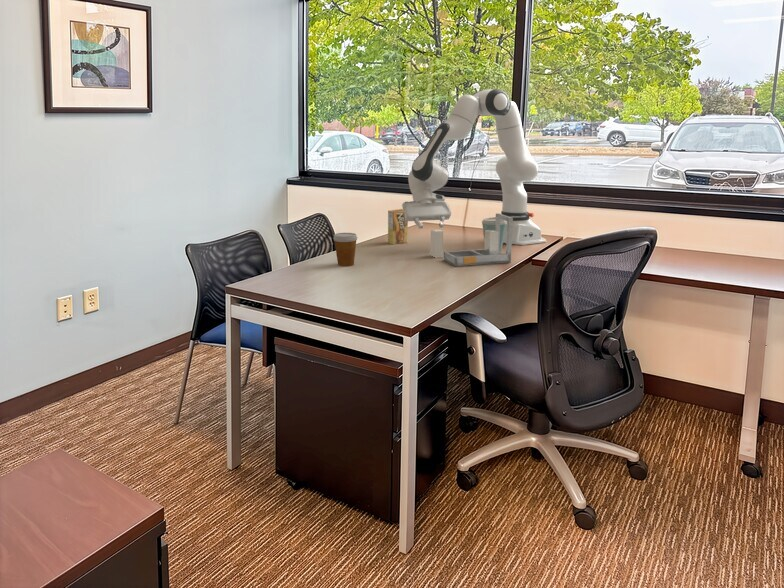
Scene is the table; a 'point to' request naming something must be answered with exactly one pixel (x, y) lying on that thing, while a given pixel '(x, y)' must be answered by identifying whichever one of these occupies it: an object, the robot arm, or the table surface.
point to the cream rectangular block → (436, 243)
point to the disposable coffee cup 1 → (345, 248)
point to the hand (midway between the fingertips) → (431, 227)
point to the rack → (485, 248)
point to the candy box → (397, 226)
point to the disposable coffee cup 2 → (490, 225)
